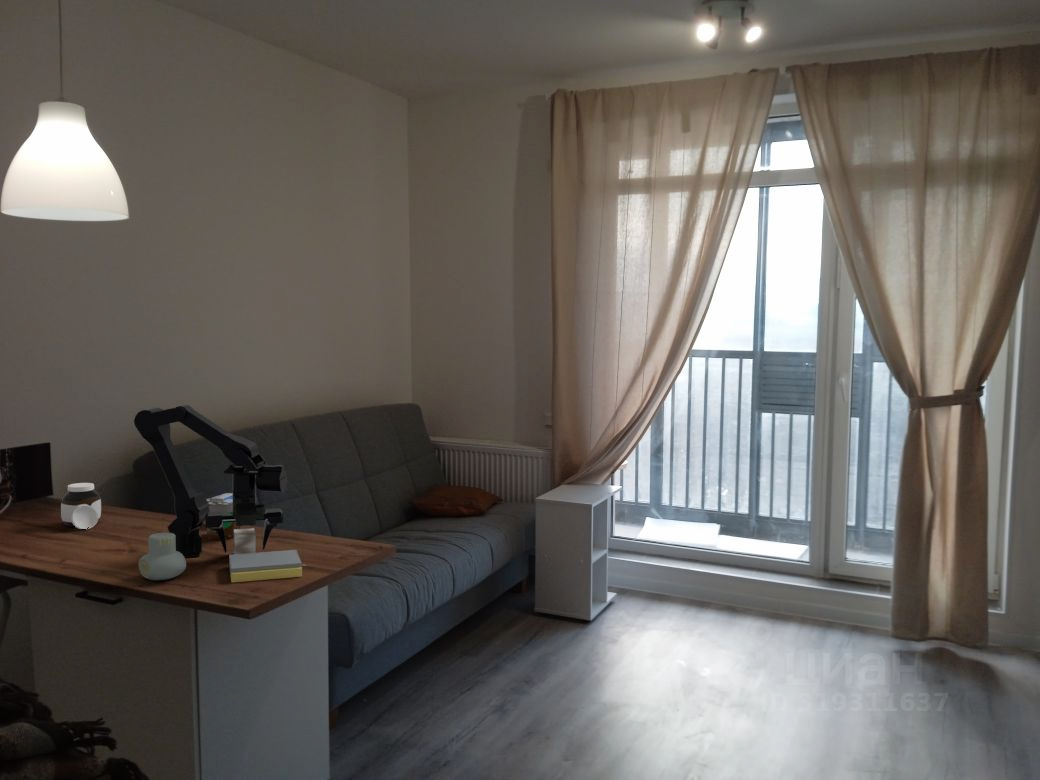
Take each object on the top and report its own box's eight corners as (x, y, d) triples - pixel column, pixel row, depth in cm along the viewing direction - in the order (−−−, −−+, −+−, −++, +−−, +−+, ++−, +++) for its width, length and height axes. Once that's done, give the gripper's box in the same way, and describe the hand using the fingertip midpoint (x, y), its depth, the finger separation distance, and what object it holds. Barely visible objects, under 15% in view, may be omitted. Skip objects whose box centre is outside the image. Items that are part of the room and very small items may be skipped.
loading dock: (231, 582, 195) (231, 569, 194) (229, 566, 207) (229, 554, 206) (302, 576, 200) (302, 564, 200) (296, 561, 212) (296, 549, 212)
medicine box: (223, 528, 243) (223, 498, 243) (209, 527, 244) (209, 497, 243) (238, 522, 251) (237, 493, 250) (224, 521, 252) (224, 492, 251)
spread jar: (85, 519, 250) (85, 480, 249) (115, 523, 246) (114, 484, 245) (51, 528, 239) (50, 488, 238) (81, 532, 235) (80, 491, 234)
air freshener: (189, 579, 197) (189, 537, 196) (153, 586, 191) (153, 543, 190) (170, 568, 204) (170, 528, 203) (135, 575, 199) (135, 533, 198)
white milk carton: (235, 562, 211) (234, 536, 210) (233, 553, 218) (233, 529, 218) (255, 560, 213) (255, 535, 212) (253, 552, 220) (253, 527, 220)
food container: (192, 537, 232) (192, 502, 232) (208, 532, 238) (208, 497, 237) (227, 543, 228) (227, 506, 227) (243, 537, 233) (243, 502, 233)
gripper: (205, 499, 203) (206, 562, 205) (285, 495, 210) (285, 556, 211) (205, 490, 214) (205, 550, 215) (281, 486, 220) (281, 544, 222)
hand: (244, 550), depth 215 cm, fingers open, 9 cm apart
